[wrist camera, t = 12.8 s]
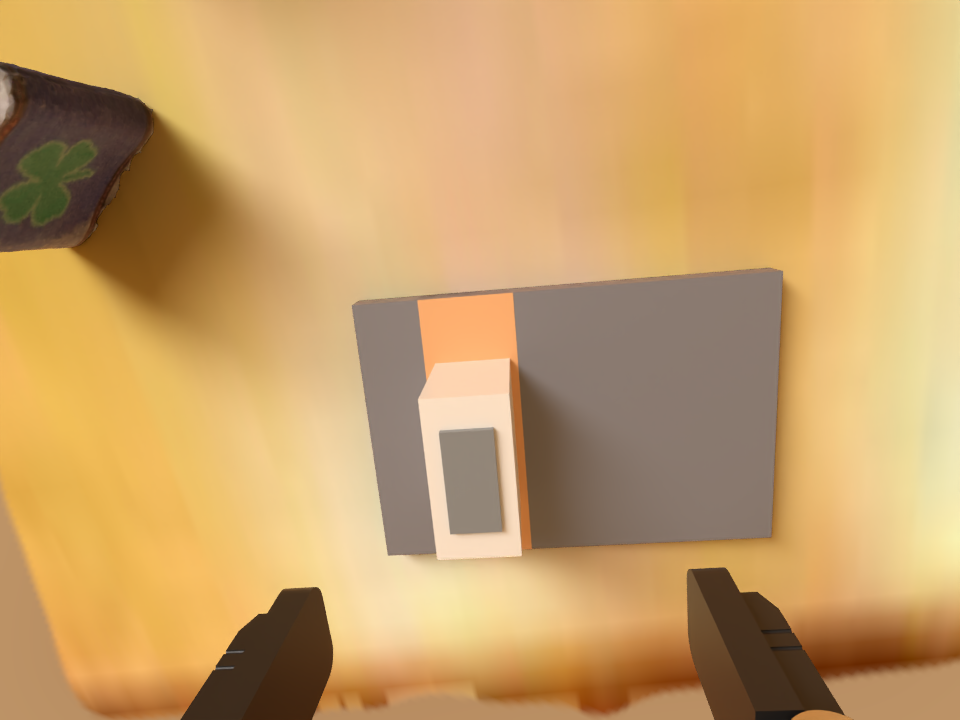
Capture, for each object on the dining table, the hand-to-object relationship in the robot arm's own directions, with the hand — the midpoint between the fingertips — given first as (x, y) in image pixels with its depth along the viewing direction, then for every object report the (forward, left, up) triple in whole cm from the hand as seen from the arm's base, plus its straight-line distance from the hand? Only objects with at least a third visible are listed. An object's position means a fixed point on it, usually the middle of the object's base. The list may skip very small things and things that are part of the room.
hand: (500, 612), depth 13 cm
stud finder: (+2, +3, -19) cm, 20 cm away
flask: (+21, -12, -21) cm, 32 cm away
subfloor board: (-3, +3, -21) cm, 21 cm away
